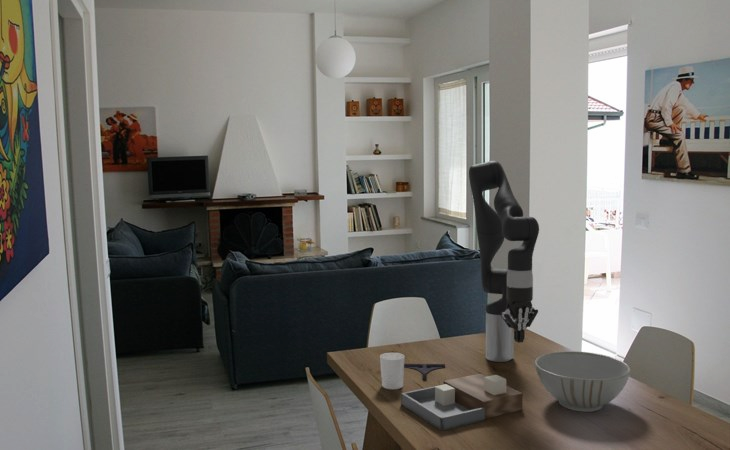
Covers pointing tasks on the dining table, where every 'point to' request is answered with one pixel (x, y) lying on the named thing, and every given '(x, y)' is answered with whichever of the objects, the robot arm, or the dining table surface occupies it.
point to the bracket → (424, 368)
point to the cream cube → (444, 394)
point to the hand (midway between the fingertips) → (519, 341)
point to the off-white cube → (495, 384)
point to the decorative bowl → (582, 378)
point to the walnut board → (484, 396)
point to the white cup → (392, 370)
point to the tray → (439, 410)
